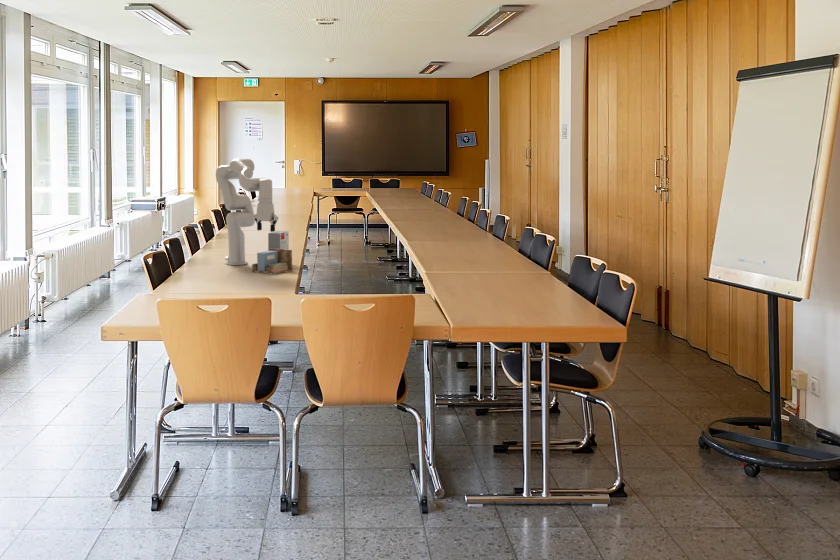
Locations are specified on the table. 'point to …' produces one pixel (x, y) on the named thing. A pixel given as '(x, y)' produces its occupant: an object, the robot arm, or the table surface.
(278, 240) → the hard drive box
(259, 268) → the book
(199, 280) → the table surface
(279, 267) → the shelf
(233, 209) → the robot arm
